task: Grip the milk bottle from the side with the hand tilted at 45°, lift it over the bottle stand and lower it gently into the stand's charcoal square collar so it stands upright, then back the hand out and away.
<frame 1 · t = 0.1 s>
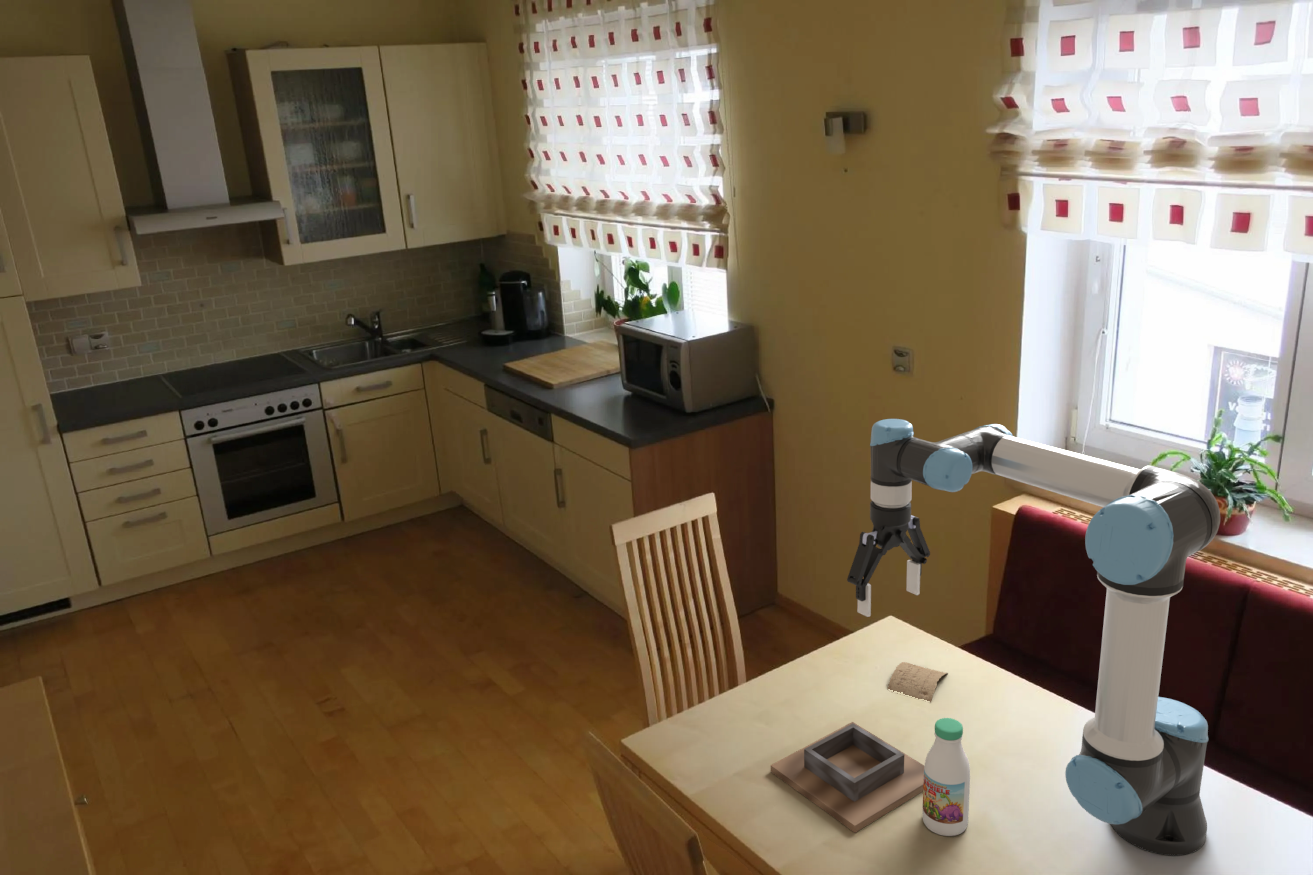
hand: (888, 603, 198), 28 cm above the table, tool pointing down, fingers open, 13 cm apart
clay tablet: (917, 685, 221), on the table
milk bottle: (944, 823, 179), on the table
bottle stand: (853, 776, 192), on the table
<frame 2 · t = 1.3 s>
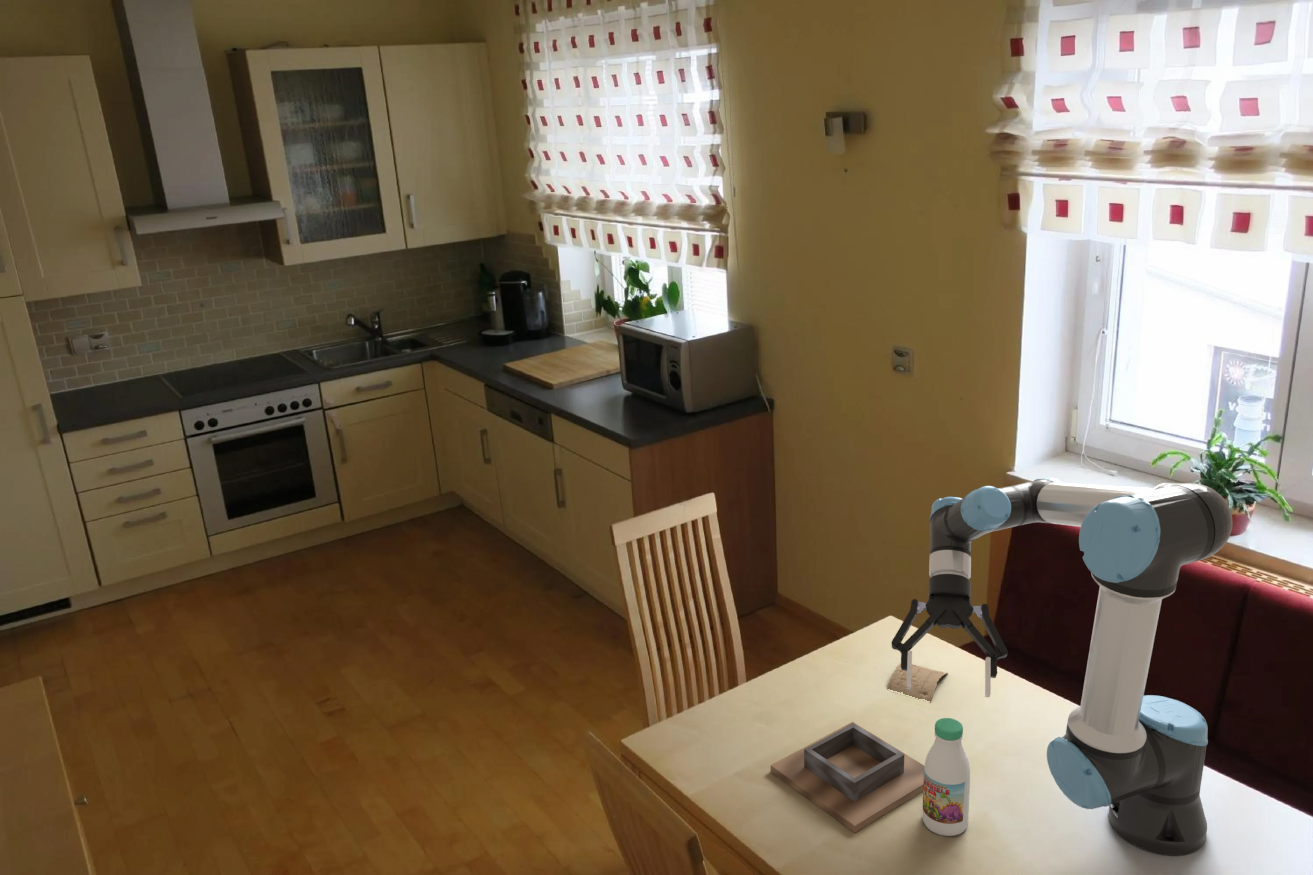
hand: (947, 692, 182), 20 cm above the table, tool tilted 45°, fingers open, 13 cm apart
nothing on the table moved.
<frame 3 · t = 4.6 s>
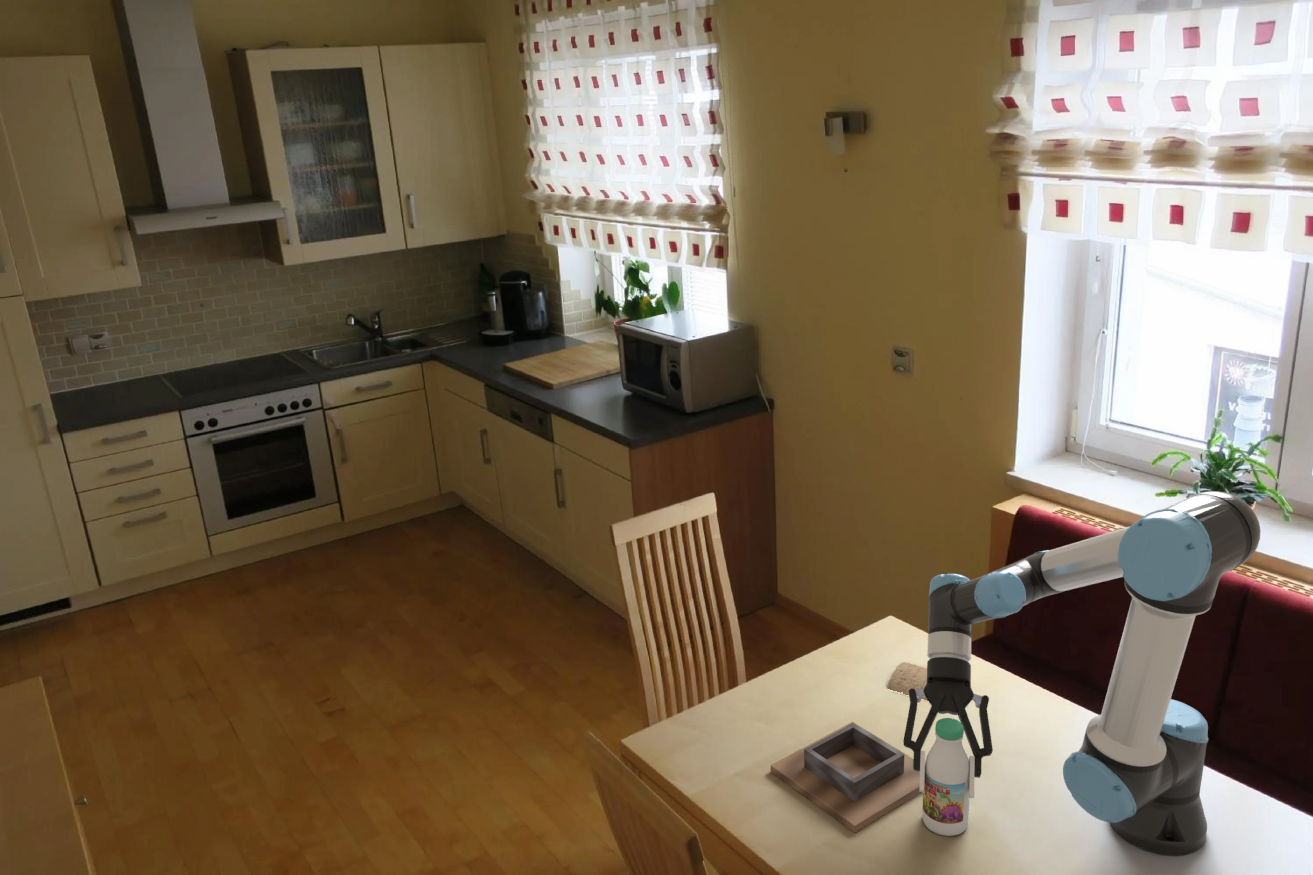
hand: (946, 793, 173), 9 cm above the table, tool tilted 45°, fingers closed on milk bottle, 7 cm apart
milk bottle: (944, 823, 179), on the table, touching gripper
everything else where it was.
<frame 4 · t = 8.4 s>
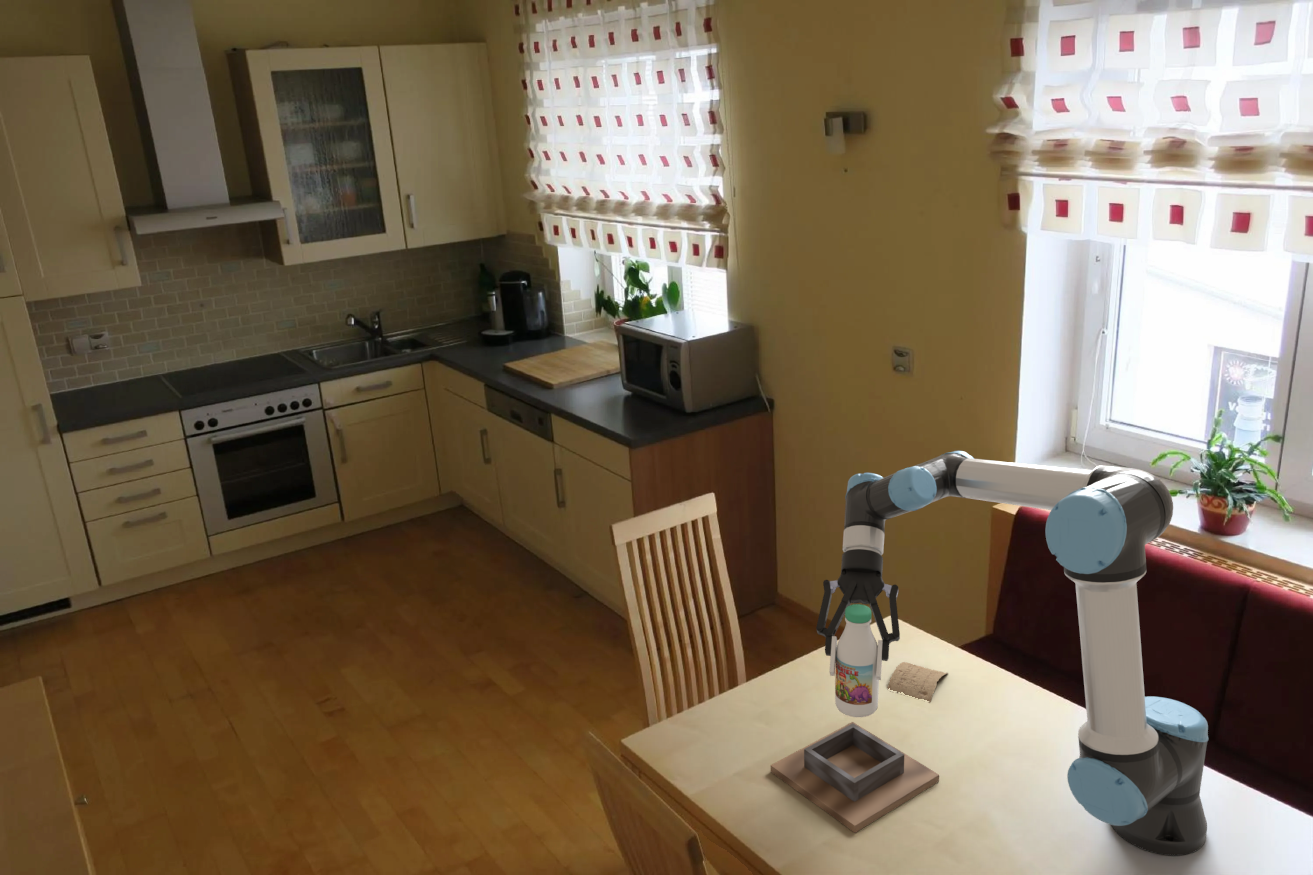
hand: (855, 675, 181), 24 cm above the table, tool tilted 45°, fingers closed on milk bottle, 7 cm apart
milk bottle: (856, 707, 187), point 15 cm above the table, touching gripper
everything else where it was.
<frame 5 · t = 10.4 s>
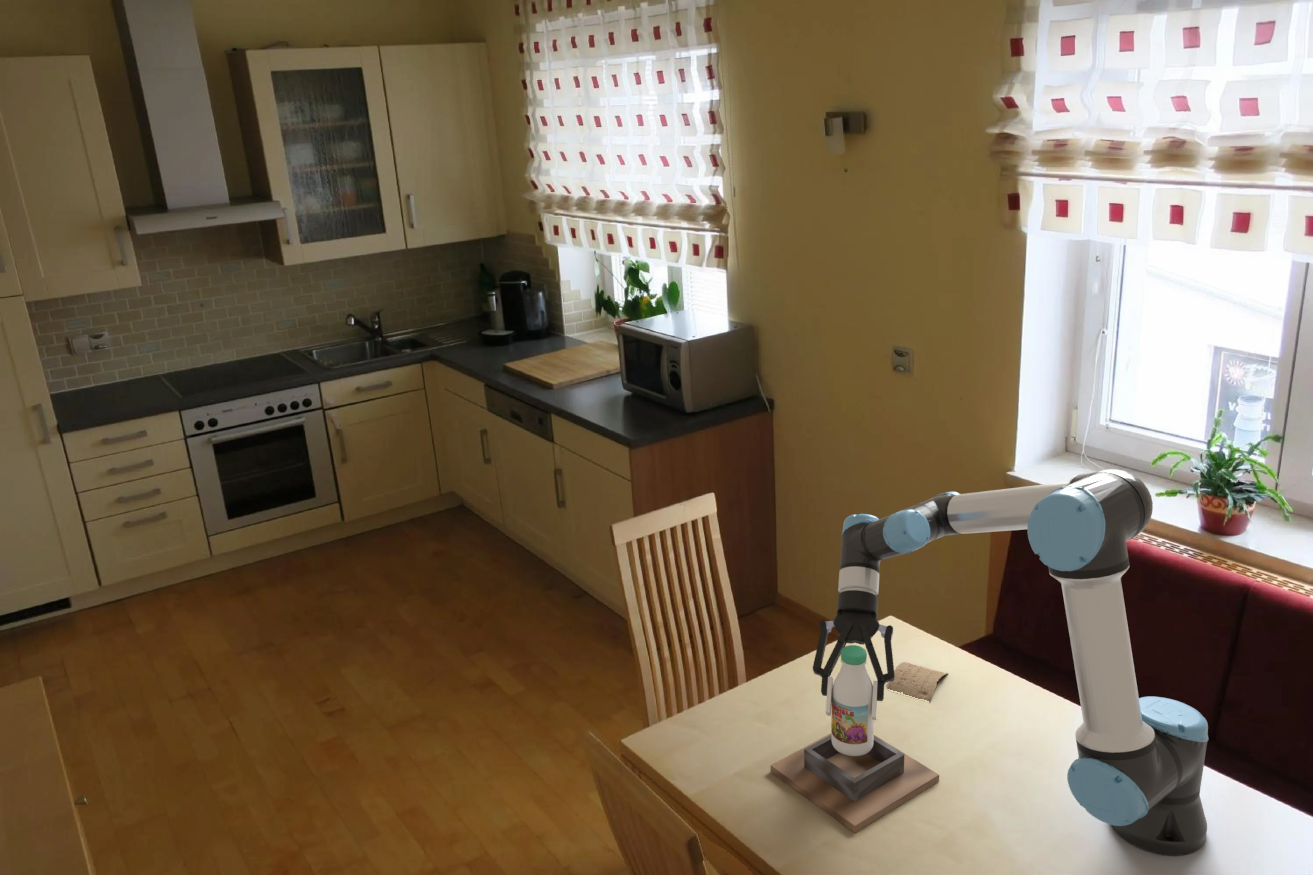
hand: (850, 715, 184), 15 cm above the table, tool tilted 45°, fingers closed on milk bottle, 7 cm apart
milk bottle: (852, 745, 190), point 7 cm above the table, touching gripper
everything else where it was.
when the fingers open (11 cm above the table, at t = 12.2 s): milk bottle drops 1 cm, resting on bottle stand.
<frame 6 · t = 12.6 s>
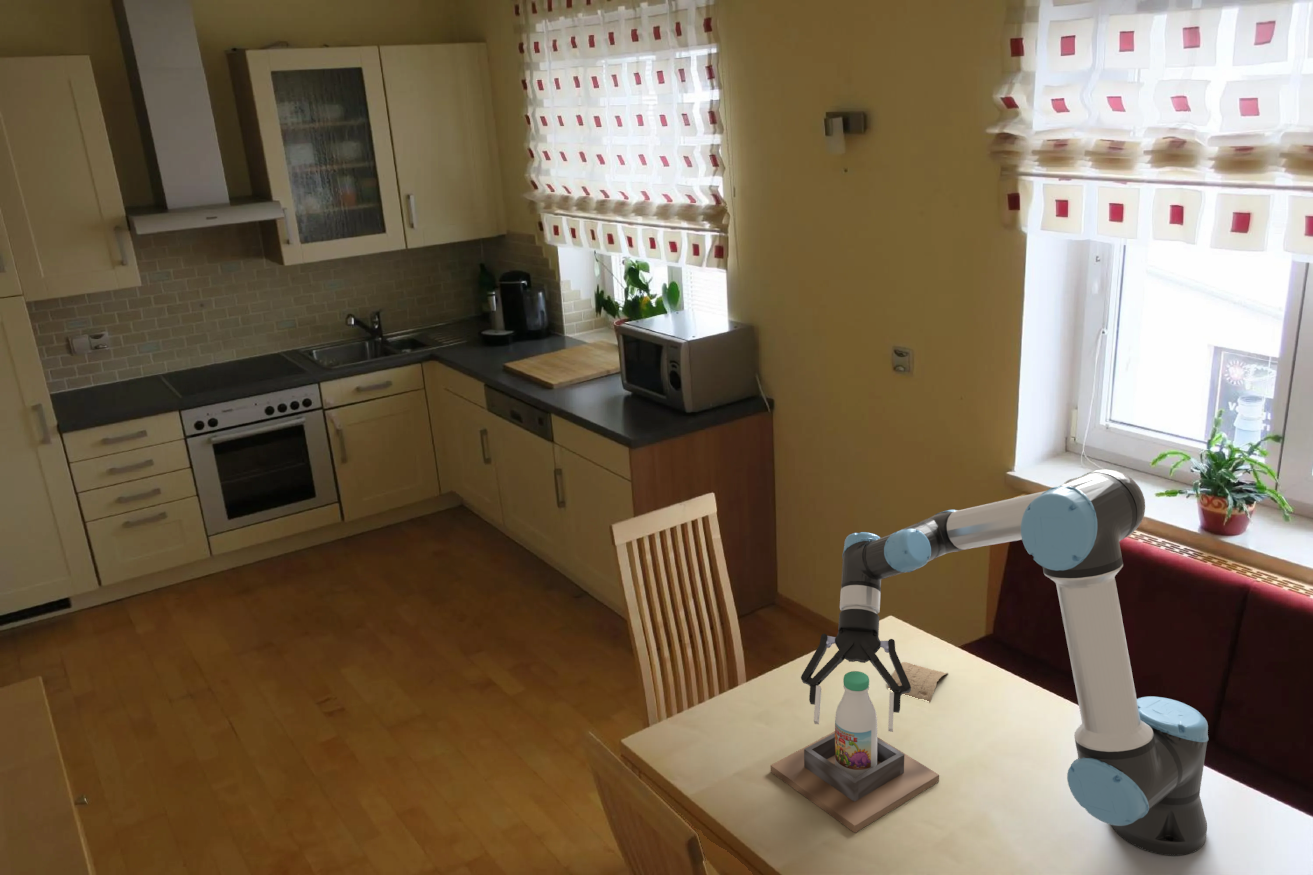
hand: (853, 726, 186), 13 cm above the table, tool tilted 45°, fingers open, 13 cm apart
milk bottle: (855, 770, 191), point 1 cm above the table, touching bottle stand
everything else where it was.
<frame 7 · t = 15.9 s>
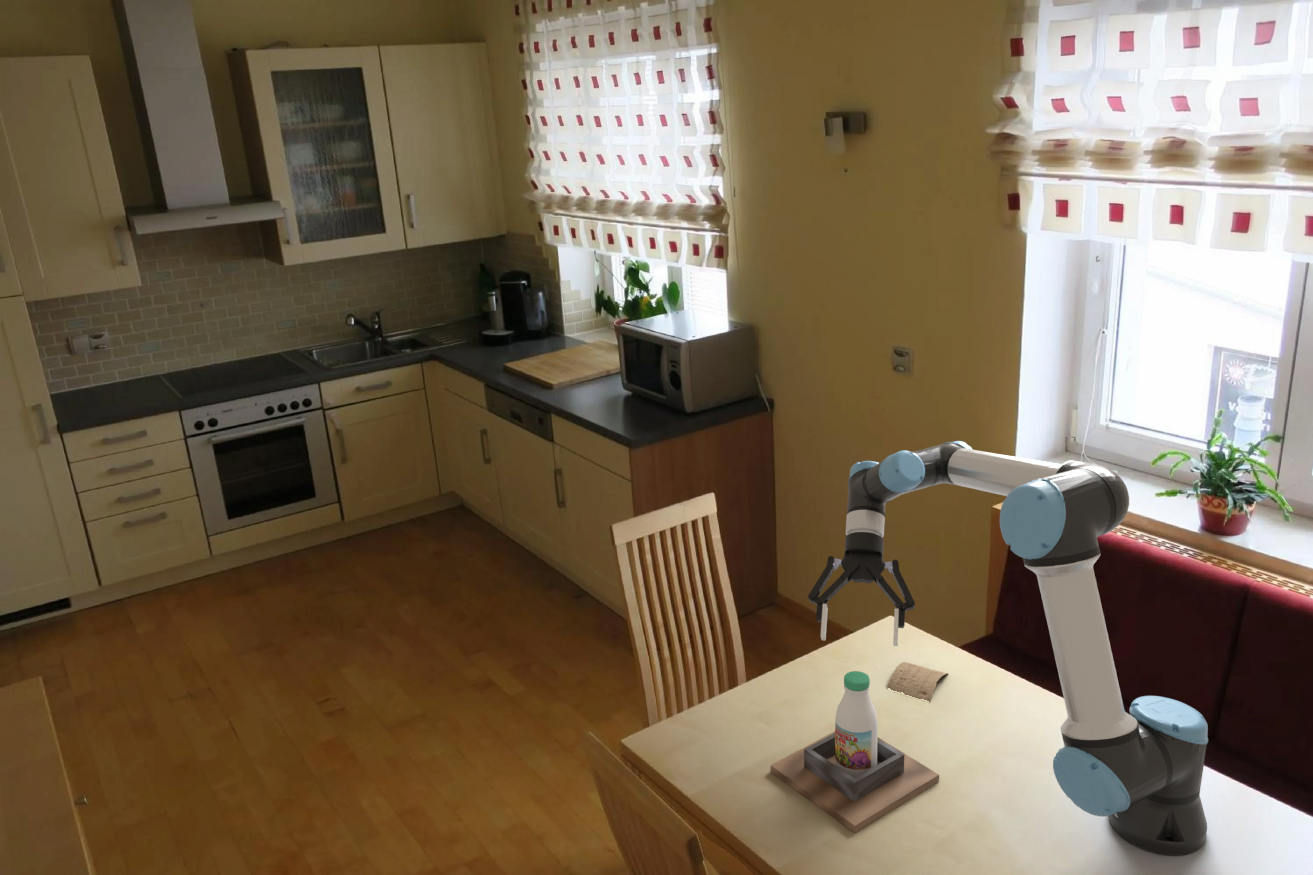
hand: (858, 641, 195), 23 cm above the table, tool tilted 45°, fingers open, 13 cm apart
nothing on the table moved.
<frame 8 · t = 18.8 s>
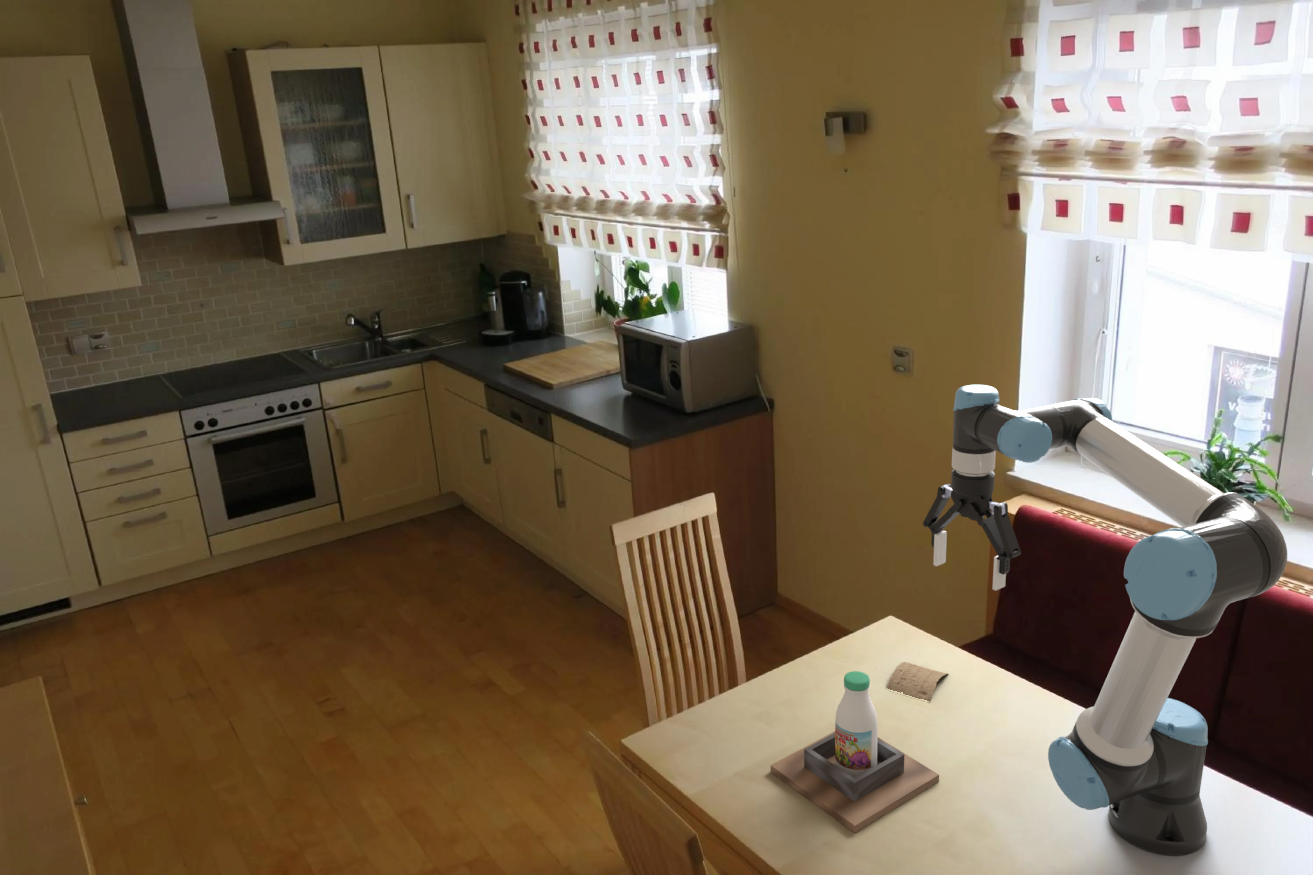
hand: (968, 575, 192), 35 cm above the table, tool pointing down, fingers open, 13 cm apart
nothing on the table moved.
at the end: milk bottle 0.4 cm off-centre on the bottle stand, point 1.3 cm above the bottle stand's base; milk bottle tilted 0°; the gripper is holding nothing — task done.
